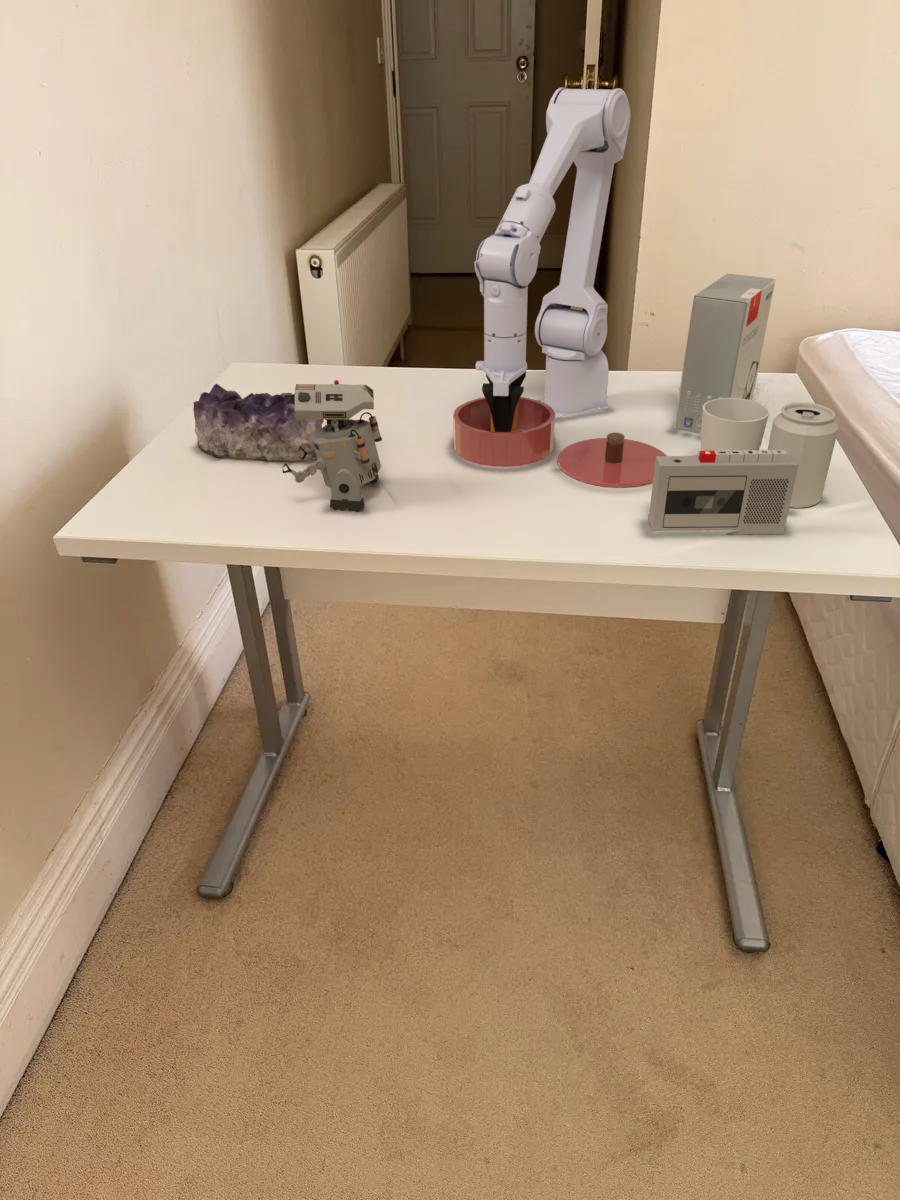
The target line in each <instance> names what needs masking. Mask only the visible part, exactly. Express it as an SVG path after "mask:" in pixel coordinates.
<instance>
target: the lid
mask: <svg viewBox="0 0 900 1200" xmlns="http://www.w3.org/2000/svg"><path fill="white" fill-rule="evenodd" d="M656 456H667V455H666V453H664V452H663V451H662V450H661V449H659V448H657V447H655V446H653V445H651V444H649V443H645V442H642V441H638V440H633V439H627V438H626V437H625V434H623V433H620V432H609V433H608V434H607V435H606V437H597V438H590V439H584V440H579V441H577V442H574V443H571V444H569V445H568V446H566V447H564V448H563V449H561V451H560V452H559V454H558V457H557V463H558V464H557V465H558V467H559V469H560V470H561V471H562V472H563V473H564V474H565V475H567V476H568V477H570V478H572V479H574V480H577V481H579V482H581V483H585V484H588V485H592V486H598V487H604V488H634V487H641V486H646V485H649V484H653V477H654V469H655V461H656Z"/></svg>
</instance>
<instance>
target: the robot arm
mask: <svg viewBox="0 0 900 1200" xmlns="http://www.w3.org/2000/svg"><path fill="white" fill-rule="evenodd" d="M631 114H632V113H631V107H630V103H629V99H628V96H627V93H626V92H625V91H624V90H623V89H622V88H620V87H619V88H618V87H617V88H614V89H603V88H602V89H596V88H587V89H586V88H567V87H559V88H557V89H556V90H555V91H554V92H553V94H552V96H551V97H550V100H549V103H548V106H547V109H546V113H545V127H546V134H547V135H546V137H545V140H544V143H543V146H542V147H541V150H540V154H539V156H538V158H537V160H536V164H535V166H534V169H533V171H532V174H531V176H530V179H529V181H528V183H525V184H521V185H520V186H518V187H517V188H516V189H515V191H514V194H513V196H512V197H511V199H510V202H509V203H508V206H507V208H506V210H505V212H504V214H503V216H502V218H501V220H500V222H499V224H498V226H497V228H496V230H495V232H494V234H491V235H490V236H488V237H487V238H485V239H484V240H482V241H481V242H480V244H479V246H478V249H477V252H476V256H475V261H474V263H473V265H474V272H475V274H476V277H477V279H478V282H479V292H480V294H481V296H482V297H483V360H477V361H476V362H475V370H476V371H482V372H483V373H484V374H485V377H486V379H487V381H488V383H482V387H481V392H482V394H483V396H484V397H485V398H486V400H487V402H488V405H489V407H490V411H491V415H492V421H493V426H494V430H495V432H511V429H512V424H513V419H514V413H515V409H516V406H517V403H518V401H519V399H520V397H522V395H523V393H524V390H525V387H524V386H522V384H523V382H524V381H525V380H526V379H525V378H526V377H527V370H528V363H527V361H526V360H527V331H528V330H527V327H528V291H529V287H528V286H529V285H530V284H531V282H532V281H533V279H534V277H535V276H536V273H537V269H538V263H539V256H540V253H541V249H542V246H541V244H540V243H541V241H542V239H543V237H544V235H545V232H546V230H547V229H548V226H549V224H550V222H551V220H552V218H553V216H554V213H555V211H556V202H555V199H554V197H553V196H554V195H555V193H556V191H557V190H558V188H559V186H560V185H561V182H562V181H563V180H564V178H565V176H566V174H567V173H568V171H569V169H570V168H571V166H572V164H573V163H574V165H575V167H576V174H575V182H574V189H573V195H572V200H571V207H570V214H569V221H568V227H567V233H566V240H565V247H564V253H563V261H562V266H561V273H560V277H559V284H558V285H557V286H556V287H554V288H553V289H552V290H551V291H549V292H548V293H546V294H545V295H544V296H543V297H542V302H541V306H540V309H539V312H538V315H537V317H536V320H535V323H534V335H535V336H534V337H535V339H536V342H537V344H538V346H539V347H541V354H545V372H544V373H545V375H544V397H543V398H541V399H537V400H538V401H540V402H543V403H545V404H547V405H549V406H550V407H551V408H552V409H553V410H554V412H555V418H563V417H568V416H574V415H579V414H584V413H590V412H595V411H600V410H606V409H609V406H608V405H607V398H608V387H609V386H608V384H609V372H610V371H609V370H610V368H609V362H608V358H607V355H606V354H605V353H604V351H603V350H602V348H603V347H604V345H605V343H606V339H607V335H608V310H609V305H608V303H607V302H606V301H605V300H604V298H603V297H602V296H601V295H600V294H599V293H598V291H596V289H595V286H594V285H595V280H596V274H597V267H598V262H599V257H600V250H601V243H602V237H603V232H604V226H605V219H606V214H607V210H608V209H607V208H608V203H609V196H610V190H611V185H612V180H613V179H612V178H613V172H614V168H615V167H614V166H615V164H616V163H618V162H620V161H621V160H623V158H624V154H625V149H626V146H627V140H628V134H629V129H630V123H631V118H632V117H631ZM563 306H568V307H563ZM569 306H571V307H576V308H582V310H580V309H575V308H569ZM583 309H584V310H583Z"/></svg>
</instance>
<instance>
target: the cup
mask: <svg viewBox="0 0 900 1200" xmlns="http://www.w3.org/2000/svg"><path fill="white" fill-rule="evenodd" d="M769 416H770V409H769V408H768V407H767V406H765V405H764V404H762V403H760V402H758V401H754V400H752V401H751V400H747V399H740V398H719V399H714V400H711V401H708V402H706V403H705V404H704V405H703V413H702V425H701V434H700V437H699V438H700V451H719V450H760V448H761V446H762V442H763V439H764V436H765V435H764V434H765V432H766V427H767V423H768V420H769Z"/></svg>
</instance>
